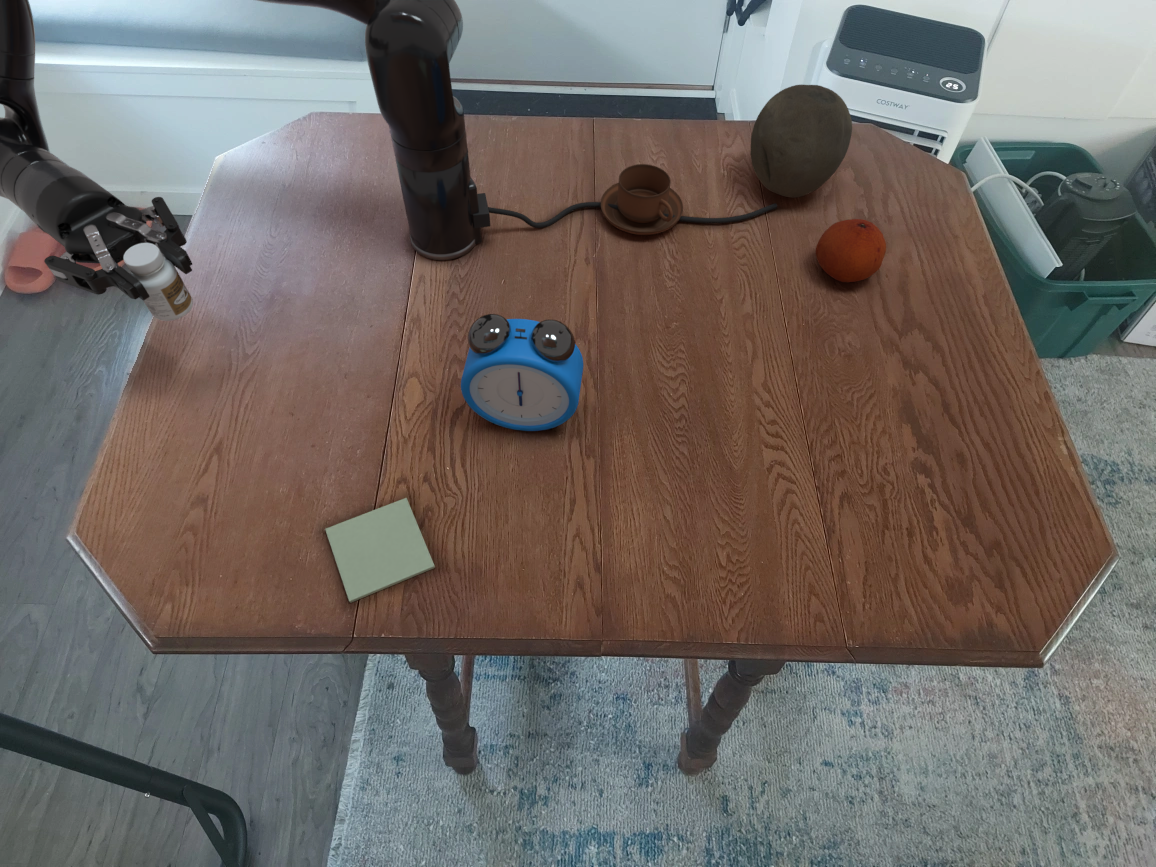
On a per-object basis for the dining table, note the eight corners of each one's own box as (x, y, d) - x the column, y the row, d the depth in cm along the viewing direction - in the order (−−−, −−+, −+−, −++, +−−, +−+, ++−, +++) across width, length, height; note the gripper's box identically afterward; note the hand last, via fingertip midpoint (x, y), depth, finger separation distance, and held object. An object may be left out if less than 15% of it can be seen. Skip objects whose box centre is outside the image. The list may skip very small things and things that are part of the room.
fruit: (847, 242, 109) (866, 196, 102) (886, 282, 104) (909, 236, 98) (796, 259, 107) (812, 213, 100) (834, 300, 102) (854, 255, 96)
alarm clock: (465, 427, 88) (451, 341, 76) (475, 386, 92) (463, 297, 80) (576, 439, 88) (580, 354, 76) (582, 397, 91) (586, 309, 79)
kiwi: (841, 216, 112) (876, 124, 100) (746, 214, 112) (770, 121, 100) (823, 158, 121) (853, 67, 108) (735, 156, 120) (755, 64, 108)
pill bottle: (191, 320, 81) (160, 266, 75) (149, 324, 81) (114, 270, 75) (196, 291, 84) (167, 237, 78) (155, 295, 83) (122, 240, 77)
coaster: (407, 499, 83) (406, 497, 82) (435, 567, 78) (434, 565, 78) (326, 530, 80) (324, 528, 80) (350, 603, 76) (349, 601, 75)
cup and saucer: (695, 208, 113) (702, 173, 108) (656, 253, 107) (661, 218, 102) (626, 179, 116) (629, 144, 111) (584, 222, 110) (586, 186, 105)
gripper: (-14, 212, 76) (81, 290, 70) (114, 147, 83) (211, 214, 77) (29, 268, 82) (119, 344, 76) (145, 204, 89) (236, 269, 83)
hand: (164, 278), depth 77 cm, fingers closed on pill bottle, 4 cm apart
